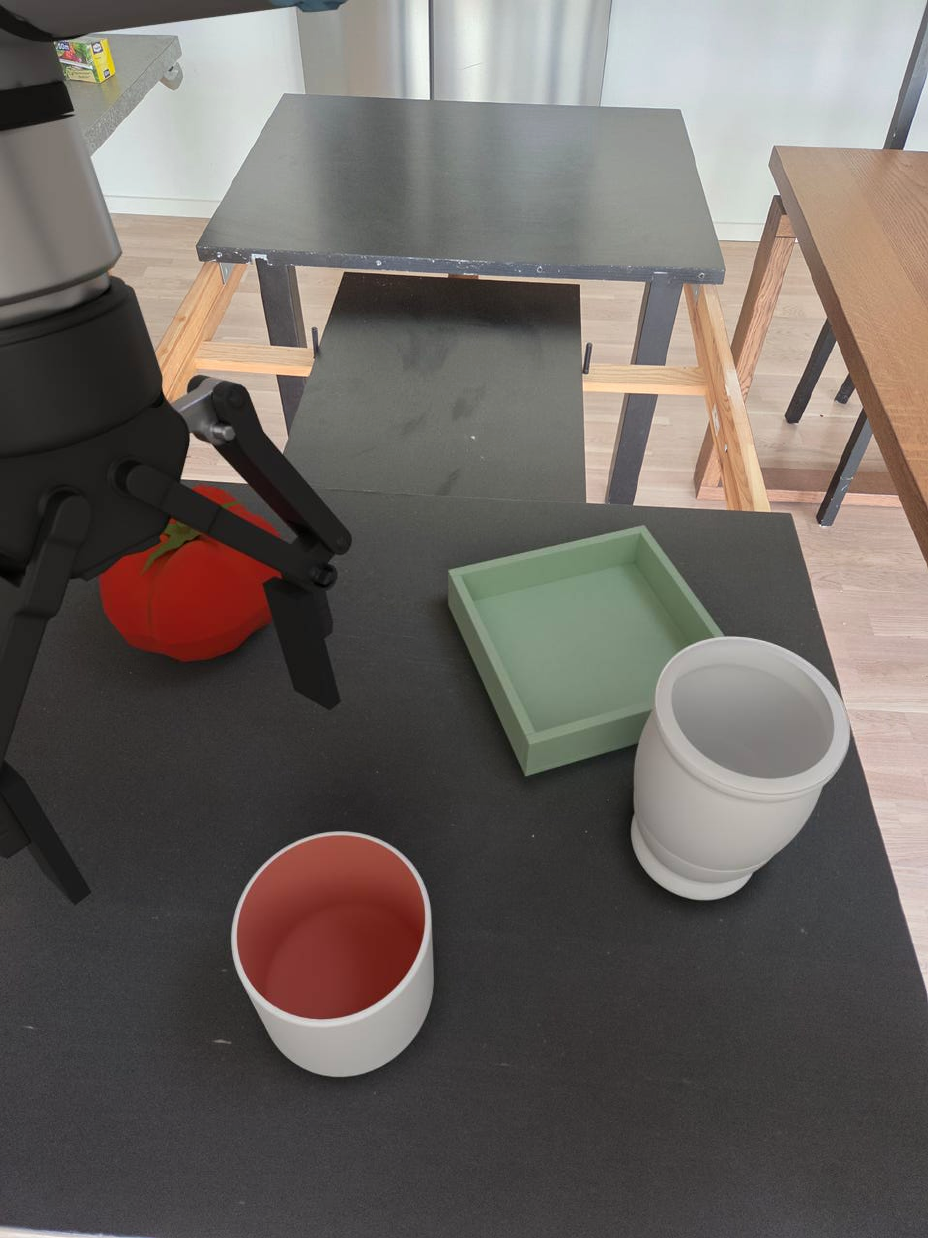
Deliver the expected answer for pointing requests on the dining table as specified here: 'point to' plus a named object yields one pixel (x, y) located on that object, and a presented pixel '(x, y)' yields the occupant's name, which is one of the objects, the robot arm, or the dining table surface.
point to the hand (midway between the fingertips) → (205, 780)
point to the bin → (576, 640)
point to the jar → (731, 762)
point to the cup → (337, 951)
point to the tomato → (189, 591)
